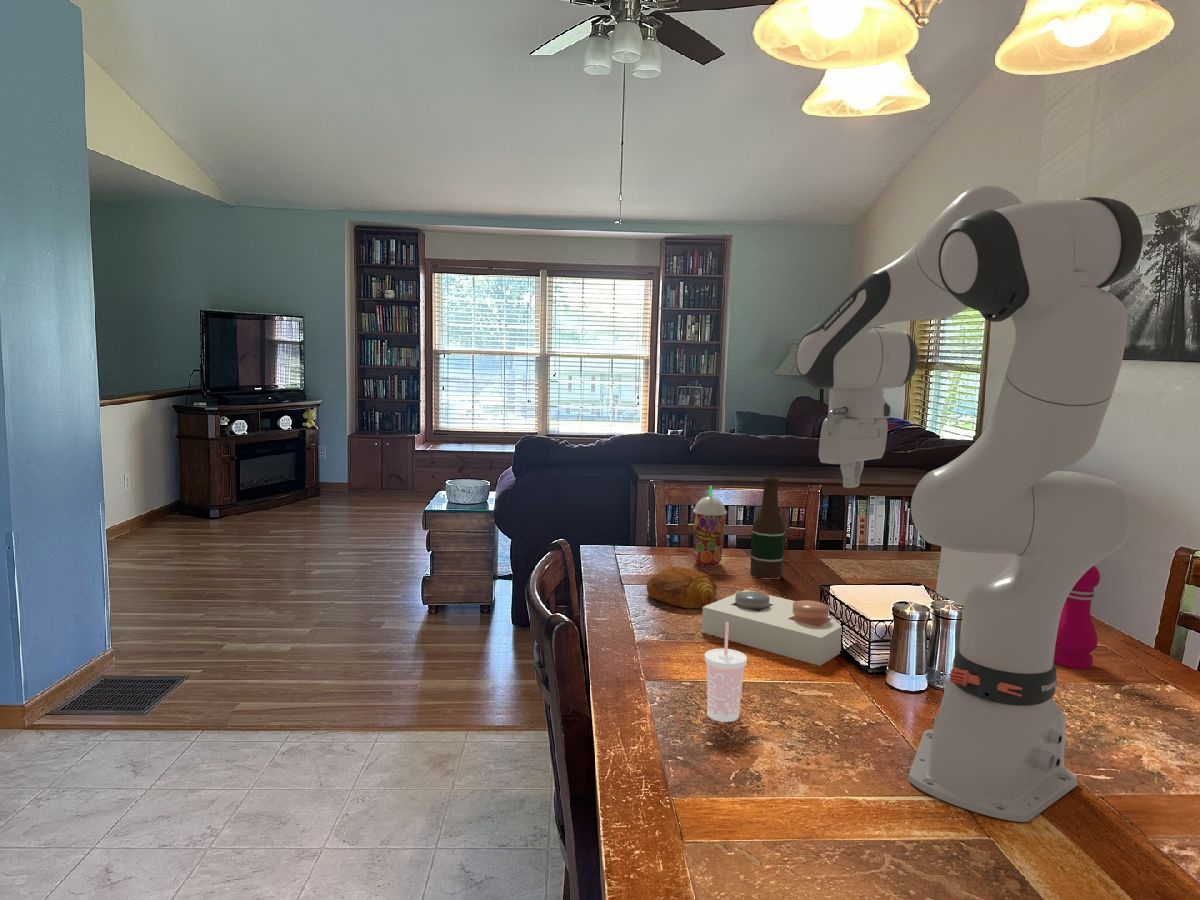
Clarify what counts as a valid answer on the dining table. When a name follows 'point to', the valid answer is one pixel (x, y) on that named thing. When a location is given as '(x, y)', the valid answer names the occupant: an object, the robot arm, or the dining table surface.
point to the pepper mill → (1077, 625)
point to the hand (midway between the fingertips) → (850, 487)
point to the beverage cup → (724, 681)
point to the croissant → (682, 587)
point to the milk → (966, 571)
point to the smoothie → (709, 530)
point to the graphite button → (752, 600)
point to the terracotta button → (810, 612)
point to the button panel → (774, 629)
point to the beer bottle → (768, 534)
